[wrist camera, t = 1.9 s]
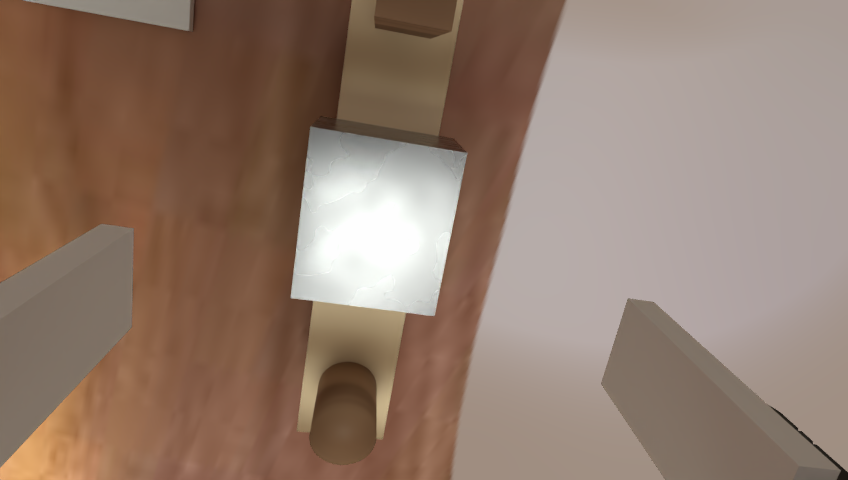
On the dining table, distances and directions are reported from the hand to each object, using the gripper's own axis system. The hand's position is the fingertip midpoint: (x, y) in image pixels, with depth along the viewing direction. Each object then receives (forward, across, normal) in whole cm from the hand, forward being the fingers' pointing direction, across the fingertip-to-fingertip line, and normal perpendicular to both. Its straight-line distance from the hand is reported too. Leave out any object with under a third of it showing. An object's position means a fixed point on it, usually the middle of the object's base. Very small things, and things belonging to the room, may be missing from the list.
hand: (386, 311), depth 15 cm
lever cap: (+12, 0, 0) cm, 12 cm away
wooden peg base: (+18, 0, 0) cm, 18 cm away
